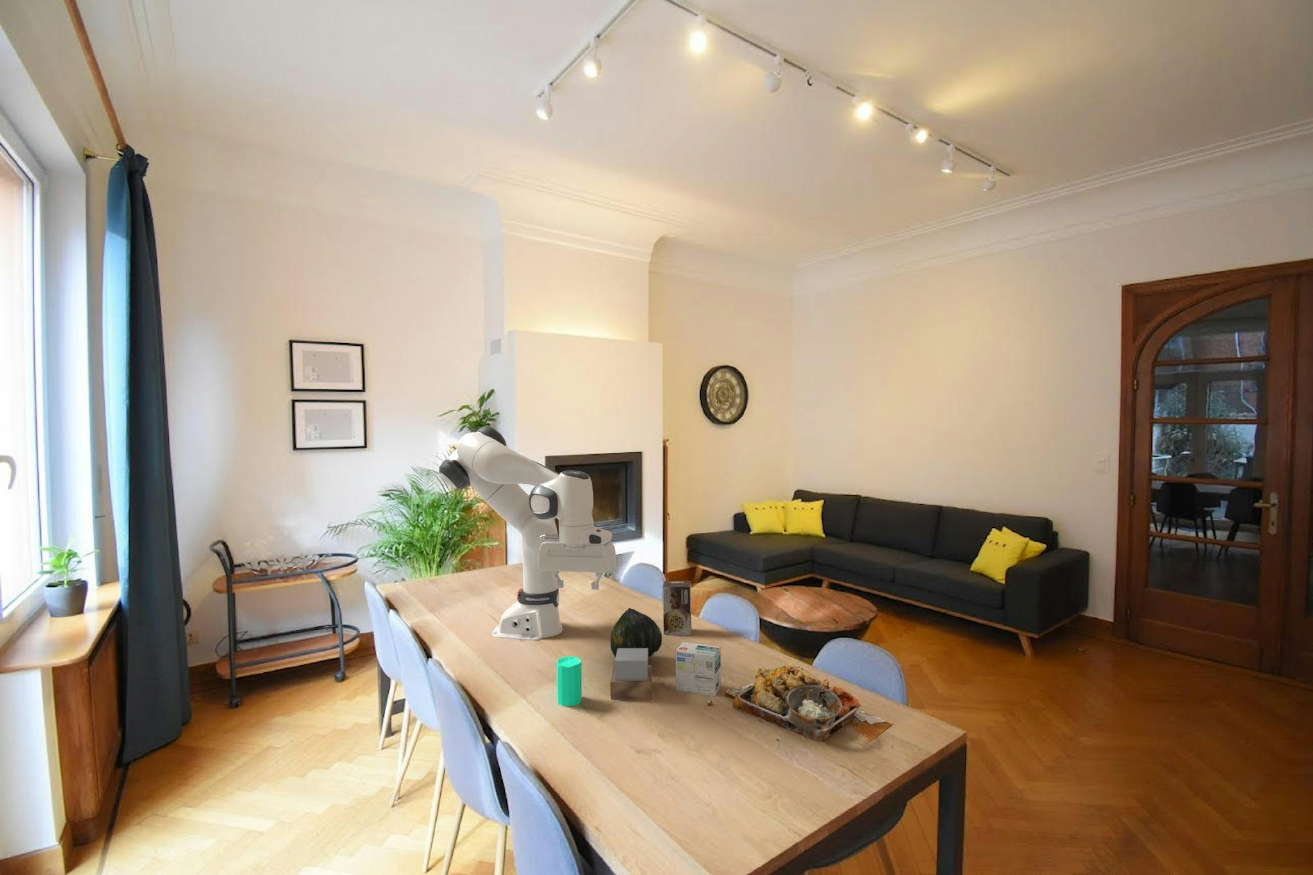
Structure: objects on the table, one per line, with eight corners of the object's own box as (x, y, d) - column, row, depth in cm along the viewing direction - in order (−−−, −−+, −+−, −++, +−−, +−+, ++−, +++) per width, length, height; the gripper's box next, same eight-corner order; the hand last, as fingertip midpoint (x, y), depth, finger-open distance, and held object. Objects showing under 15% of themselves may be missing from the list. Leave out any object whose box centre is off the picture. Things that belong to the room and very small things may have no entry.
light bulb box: (721, 686, 152) (721, 645, 152) (715, 697, 146) (715, 655, 146) (682, 680, 156) (682, 640, 155) (675, 691, 149) (674, 650, 149)
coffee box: (691, 628, 194) (691, 580, 193) (690, 636, 187) (690, 586, 187) (664, 628, 195) (664, 580, 194) (662, 635, 188) (662, 585, 188)
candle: (558, 697, 146) (557, 650, 146) (582, 696, 147) (581, 649, 147) (556, 709, 140) (555, 660, 140) (581, 708, 141) (580, 659, 141)
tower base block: (610, 702, 145) (610, 682, 144) (614, 683, 155) (614, 665, 154) (650, 702, 144) (650, 682, 144) (652, 683, 154) (652, 665, 154)
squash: (600, 665, 166) (599, 612, 165) (637, 649, 177) (636, 600, 176) (635, 680, 156) (635, 624, 156) (672, 662, 167) (672, 610, 166)
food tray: (893, 727, 133) (894, 681, 132) (833, 773, 116) (833, 720, 115) (769, 677, 159) (769, 638, 158) (704, 708, 142) (704, 665, 141)
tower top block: (615, 680, 145) (614, 660, 145) (617, 667, 153) (617, 648, 153) (647, 680, 145) (647, 660, 145) (648, 667, 153) (648, 648, 153)
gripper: (533, 536, 147) (534, 590, 148) (611, 538, 144) (612, 593, 144) (542, 531, 153) (543, 583, 154) (617, 533, 150) (618, 586, 150)
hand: (577, 588), depth 149 cm, fingers open, 8 cm apart
